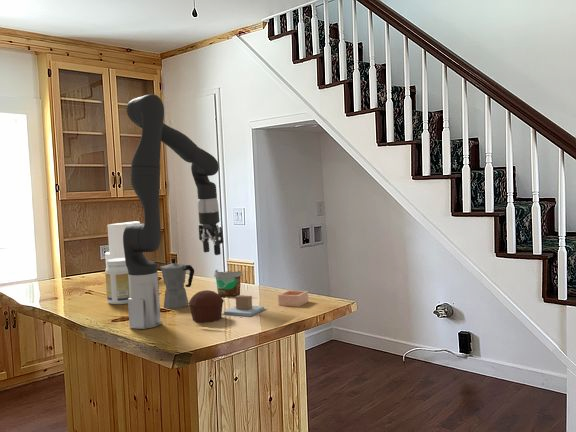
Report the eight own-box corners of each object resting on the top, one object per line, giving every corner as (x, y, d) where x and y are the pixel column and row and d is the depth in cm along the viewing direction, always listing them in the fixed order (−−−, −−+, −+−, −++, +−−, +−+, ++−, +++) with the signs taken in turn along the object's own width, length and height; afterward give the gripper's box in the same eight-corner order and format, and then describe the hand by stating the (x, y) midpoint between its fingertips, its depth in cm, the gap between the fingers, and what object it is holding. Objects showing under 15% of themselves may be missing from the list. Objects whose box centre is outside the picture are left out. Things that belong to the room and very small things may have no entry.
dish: (299, 308, 192) (298, 296, 192) (278, 307, 196) (278, 294, 196) (308, 303, 200) (307, 291, 199) (288, 302, 203) (288, 290, 203)
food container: (208, 296, 220) (207, 272, 220) (217, 293, 226) (216, 269, 225) (234, 298, 215) (233, 273, 214) (243, 295, 220) (241, 270, 219)
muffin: (182, 322, 181) (181, 292, 181) (210, 315, 189) (208, 286, 188) (204, 328, 173) (202, 296, 172) (232, 320, 180) (230, 290, 180)
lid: (249, 316, 182) (248, 300, 181) (224, 314, 186) (223, 298, 186) (264, 309, 191) (263, 293, 190) (239, 307, 195) (238, 292, 195)
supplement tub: (145, 298, 223) (142, 256, 222) (128, 305, 212) (125, 261, 211) (118, 298, 227) (115, 257, 226) (101, 304, 215) (97, 261, 214)
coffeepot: (154, 308, 205) (150, 260, 204) (169, 302, 213) (166, 256, 212) (188, 310, 198) (185, 260, 197) (203, 304, 207) (200, 256, 206)
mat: (250, 319, 180) (250, 317, 180) (220, 317, 186) (219, 314, 186) (268, 311, 191) (268, 308, 191) (238, 309, 196) (238, 306, 196)
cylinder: (151, 277, 274) (147, 221, 272) (123, 284, 259) (119, 224, 257) (126, 275, 283) (123, 221, 281) (99, 281, 268) (95, 224, 266)
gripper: (190, 210, 208) (194, 252, 210) (208, 212, 197) (212, 257, 199) (208, 208, 213) (211, 249, 215) (226, 210, 201) (230, 254, 203)
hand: (212, 253), depth 207 cm, fingers open, 8 cm apart
